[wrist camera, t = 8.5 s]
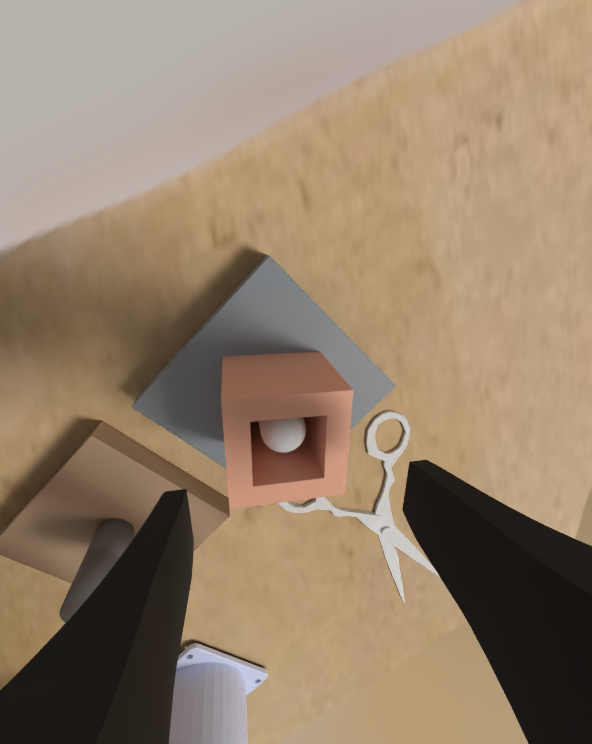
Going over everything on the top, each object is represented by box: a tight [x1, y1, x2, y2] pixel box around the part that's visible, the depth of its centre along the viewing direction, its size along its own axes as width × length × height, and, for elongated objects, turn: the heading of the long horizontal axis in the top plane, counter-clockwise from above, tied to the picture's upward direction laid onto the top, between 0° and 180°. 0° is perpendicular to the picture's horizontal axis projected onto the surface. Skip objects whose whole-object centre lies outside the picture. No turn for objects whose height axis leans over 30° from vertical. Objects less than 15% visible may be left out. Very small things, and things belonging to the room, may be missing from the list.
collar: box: [221, 352, 353, 509], centre depth 16 cm, size 5×5×5 cm
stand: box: [0, 421, 229, 623], centre depth 18 cm, size 9×9×6 cm
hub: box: [132, 255, 396, 468], centre depth 17 cm, size 10×10×6 cm
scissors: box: [278, 411, 440, 604], centre depth 25 cm, size 11×1×20 cm
